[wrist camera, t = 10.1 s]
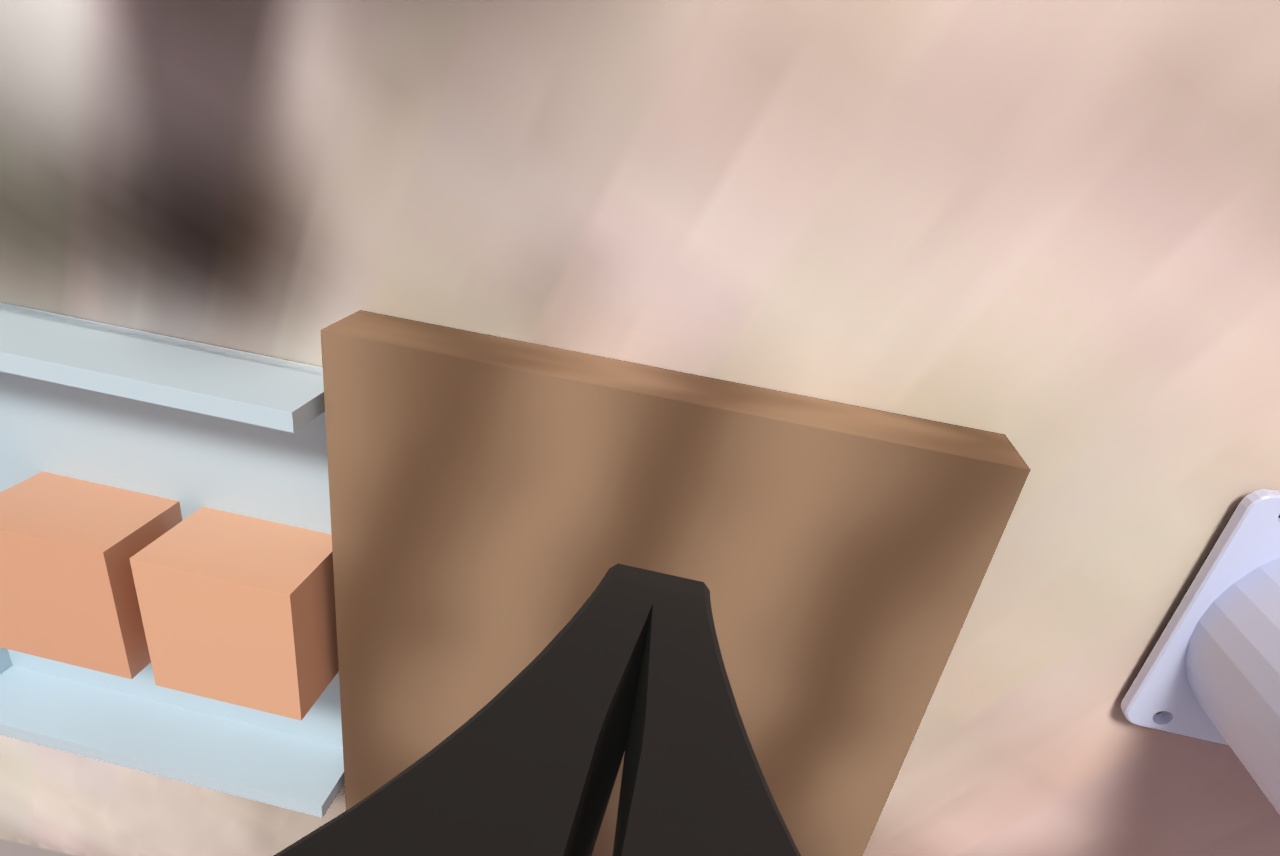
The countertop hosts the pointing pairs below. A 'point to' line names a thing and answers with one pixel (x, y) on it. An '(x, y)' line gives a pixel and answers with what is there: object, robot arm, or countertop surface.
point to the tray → (196, 477)
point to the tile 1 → (76, 570)
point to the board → (646, 548)
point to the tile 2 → (240, 611)
